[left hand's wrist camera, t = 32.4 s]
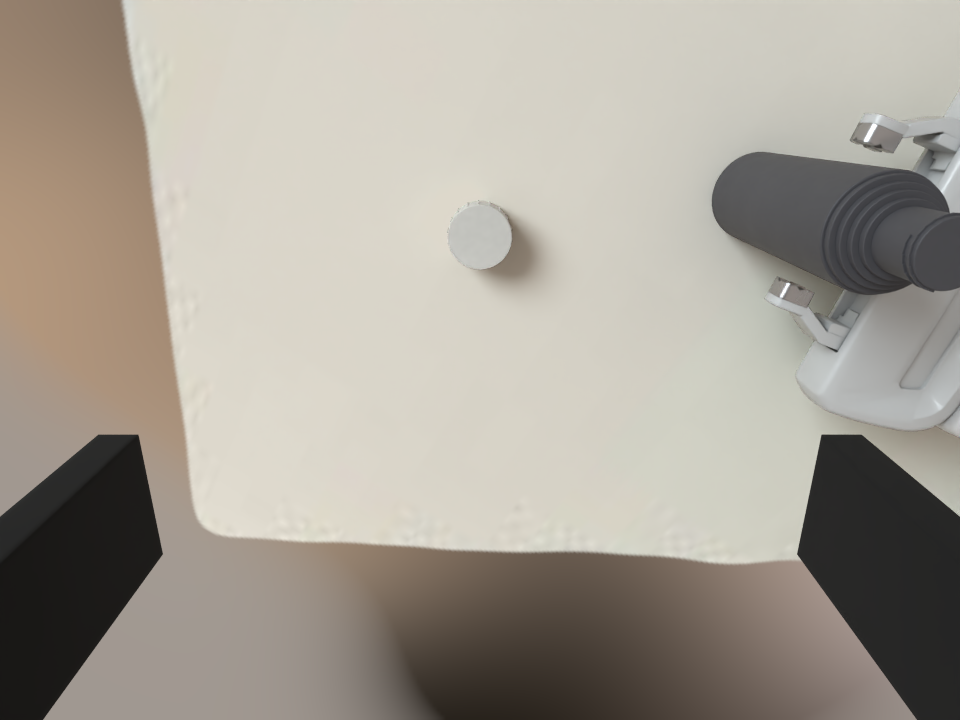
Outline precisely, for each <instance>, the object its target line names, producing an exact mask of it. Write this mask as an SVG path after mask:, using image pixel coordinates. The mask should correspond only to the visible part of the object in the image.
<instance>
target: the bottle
mask: <svg viewBox="0 0 960 720" xmlns="http://www.w3.org/2000/svg"><path fill="white" fill-rule="evenodd" d="M712 208H713V213H714V216H715V219H716V221H717V222H718V224H719V225H720V227H721V228H722V229H723V230H724V231H726V232H727V233H728V234H730V235H732V236H734V237H736V238H738V239H740V240H742V241H744V242H746V243H748V244H751V245H753V246H755V247H757V248H759V249H761V250H763V251H765V252H767V253H770V254H772V255H774V256H776V257H778V258H780V259H782V260H784V261H786V262H788V263H791V264H793V265H795V266H797V267H799V268H801V269H803V270H805V271H807V272H809V273H812V274H814V275H816V276H818V277H820V278H822V279H824V280H826V281H828V282H831V283H833V284H835V285H837V286H839V287H841V288H843V289H845V290H848V291H850V292H853V293H857V294H862V295H878V294H885V293H890V292H894V291H898V290H900V289H903V288H905V287H907V286H909V285H911V284H914V285H915V286H917V287H919V288H922V289H924V290H927V291H930V292H933V293H934V291H950V290H954V289H957V288H960V213H955V212H952V213H950V211H949V207H948V204H947V201H946V199H945V197H944V195H943V194H942V193H941V191H940V190H939V189H938V188H937V187H936V185H934V184H933V183H932V182H931V181H930V180H929V179H927V178H926V177H924V176H923V175H921V174H918V173H916V172H912V171H909V170H901V169H893V168H886V167H878V166H870V165H862V164H854V163H846V162H838V161H830V160H823V159H815V158H807V157H799V156H791V155H783V154H775V153H767V152H755V153H750V154H747V155H744V156H742V157H740V158H738V159H736V160H735V161H734V162H732V163H731V164H730V165H729V166H728V167H727V168H726V169H725V170H724V171H723V172H722V174H721V175H720V177H719V178H718V180H717V182H716V185H715V187H714V191H713V195H712Z"/></svg>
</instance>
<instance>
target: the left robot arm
mask: <svg viewBox="0 0 960 720" xmlns="http://www.w3.org/2000/svg"><path fill="white" fill-rule="evenodd" d="M162 555H163V553H162V548H161V543H160V538H159V533H158V528H157V524H156V519H155V514H154V509H153V504H152V499H151V494H150V489H149V484H148V480H147V475H146V470H145V465H144V460H143V455H142V450H141V445H140V440H139V436H138V435H98V436H96V437H95V438H94V439H93V440H92V441H90V442H89V443H88V444H87V445H86V446H84V447H83V448H82V449H81V450H80V451H78V452H77V453H76V454H75V455H74V456H72V457H71V458H70V459H69V460H68V461H66V462H65V463H64V464H63V465H62V466H60V467H59V468H58V469H57V470H56V471H54V472H53V473H52V474H51V475H50V476H48V477H47V478H46V479H45V480H44V481H42V482H41V483H40V484H39V485H38V486H36V487H35V488H34V489H33V490H32V491H30V492H29V493H28V494H27V495H26V496H25V497H23V498H22V499H21V500H20V501H18V502H17V503H16V504H15V505H14V506H12V507H11V508H10V509H9V510H8V511H6V512H5V513H4V514H3V515H2V516H1V517H0V720H43V719H44V718H45V716H46V715H47V713H48V712H49V711H50V709H51V708H52V706H53V705H54V704H55V702H56V701H57V700H58V698H59V697H60V695H61V694H62V693H63V691H64V690H65V689H66V687H67V686H68V684H69V683H70V682H71V680H72V679H73V677H74V676H75V675H76V673H77V672H78V671H79V669H80V668H81V666H82V665H83V664H84V662H85V661H86V660H87V658H88V657H89V655H90V654H91V653H92V651H93V650H94V649H95V647H96V646H97V644H98V643H99V642H100V640H101V639H102V637H103V636H104V635H105V633H106V632H107V631H108V629H109V628H110V626H111V625H112V624H113V622H114V621H115V620H116V618H117V617H118V615H119V614H120V613H121V611H122V610H123V608H124V607H125V606H126V604H127V603H128V602H129V600H130V599H131V597H132V596H133V595H134V593H135V592H136V591H137V589H138V588H139V586H140V585H141V584H142V582H143V581H144V579H145V578H146V577H147V575H148V574H149V572H150V571H151V570H152V568H153V567H154V566H155V564H156V563H157V561H158V560H159V559H160V557H161V556H162ZM797 555H798V556H799V557H800V559H801V560H802V562H803V563H804V564H805V566H806V567H807V568H808V570H809V571H810V573H811V574H812V575H813V577H814V578H815V579H816V581H817V582H818V584H819V585H820V586H821V588H822V589H823V590H824V592H825V593H826V595H827V596H828V597H829V599H830V600H831V602H832V603H833V604H834V606H835V607H836V608H837V610H838V611H839V613H840V614H841V615H842V617H843V618H844V620H845V621H846V622H847V624H848V625H849V626H850V628H851V629H852V631H853V632H854V633H855V635H856V636H857V637H858V639H859V640H860V642H861V643H862V644H863V646H864V647H865V649H866V650H867V651H868V653H869V654H870V655H871V657H872V658H873V660H874V661H875V662H876V664H877V665H878V666H879V668H880V669H881V671H882V672H883V673H884V675H885V676H886V678H887V679H888V680H889V682H890V683H891V684H892V686H893V687H894V689H895V690H896V691H897V693H898V694H899V695H900V697H901V698H902V700H903V701H904V702H905V704H906V705H907V706H908V708H909V709H910V711H911V712H912V713H913V715H914V716H915V718H916V719H917V720H960V517H959V516H958V515H957V514H956V513H955V512H954V511H952V510H951V509H950V508H949V507H948V506H946V505H945V504H944V503H943V502H942V501H940V500H939V499H938V498H937V497H936V496H934V495H933V494H932V493H931V492H930V491H928V490H927V489H926V488H925V487H924V486H922V485H921V484H920V483H919V482H918V481H916V480H915V479H914V478H913V477H912V476H910V475H909V474H908V473H907V472H906V471H904V470H903V469H902V468H901V467H900V466H898V465H897V464H896V463H895V462H894V461H892V460H891V459H890V458H889V457H888V456H886V455H885V454H884V453H883V452H882V451H880V450H879V449H878V448H877V447H876V446H874V445H873V444H872V443H871V442H870V441H868V440H867V439H866V438H865V437H864V436H862V435H822V436H821V440H820V445H819V450H818V455H817V460H816V465H815V470H814V475H813V480H812V484H811V489H810V494H809V499H808V504H807V509H806V514H805V519H804V523H803V528H802V533H801V538H800V543H799V548H798V553H797Z"/></svg>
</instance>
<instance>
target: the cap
mask: <svg viewBox="0 0 960 720" xmlns="http://www.w3.org/2000/svg"><path fill="white" fill-rule="evenodd" d="M450 222H451V223H450V226H449V228H448V231H447V233H448V244H449V248H450V250H451V252H452V254H453V256H454V257H455V258H456V259H457V260H458V261H459V262H460V263H461V264H463V265H464V266H466V267H469V268H472V269H479V270H480V269H488V268H491V267H493V266H495V265H497V264H499V263H500V262H501V261H502V260H503V259H504V258H505V257H506V255H507V254H508V252H509V250H510V247H511V243H512V232H511V230H512V227H511V225H510V224H509V221H508V217H507V215H505V213H504V212H503V211H502V210H501V209H500V207H497V206H496V205H494V204H492V203H490V202H485V201H479V200H478V201H475V202H471V203H467V204H466V205H464V206H462V207H461V208H460V209H459V208H458V211H457V212H456V213H455V215H454V216H453V217H452V218H451V221H450Z"/></svg>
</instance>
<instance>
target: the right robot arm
mask: <svg viewBox="0 0 960 720" xmlns="http://www.w3.org/2000/svg"><path fill="white" fill-rule="evenodd" d="M909 137H914V139H913V143H916V144H918V145H920V146H922V147H925V150H924V151H923V153H922V155H921V157H920V158H919V160H918V162H917V164H916V165H915V167H914V169H913V170H912V172H916V173H918V174H921V175H923V176H924V177H926V178H927V179H929V180H930V181H931V182H932V183H933V184H934V185H936V187H937V188H938V189H939V190H940V191H941V193H942V194H943V195H944V197H945V199H946V201H947V204H948V207H949V211H950V213H952V212H955V213H960V89H959V91H958V92H957V94H956V96H955V98H954V99H953V101H952V103H951V105H950V106H949V108H948V110H947V112H946V113H945V115H944V117H921V118H915V119H910V120H905V121H896V120H894V119H892V118H889V117H887V116H884V115H880V114H876V113H864V114H863V116H862V118H861V120H860V122H859V124H858V125H857V127H856V129H855V131H854V133H853V135H852V137H851V139H850V141H851V142H853V143H855V144H860V145H863V146H864V147H865V148H867V149H870V150H872V151H876V152H882V151H883V152H886V153H894V151H895V149H896V148H897V146H898V144H899V143H900V141H901V139H902V138H909ZM813 295H814V292H812V291H810V290H808V289H806V288H805V287H803V286H801V285H798V284H796V283H793V282H789V281H787V280H785V279H783V278H780V277H776V279H775V280H774V282H773V284H772V286H771V288H770V289H769V292H768V293H767V295H766V297H765V300H767V301H768V302H770V303H771V304H773V305H775V306H777V307H779V308H782V309H784V310H787V311H789V312H790V314H791V315H792V317H793V318H794V320H795V321H796V323H797V324H798V326H799V327H800V329H801V330H802V332H803V333H805V334H806V335H808V336H809V337H811V338H812V339H814V342H813V343H812V345H811V347H810V349H809V350H808V352H807V354H806V356H805V357H804V359H803V361H802V362H801V364H800V366H799V367H798V369H797V371H796V374H795V377H796V380H797V382H798V385H799V387H800V389H801V390H802V392H803V393H804V394H805V395H806V396H807V397H808V398H809V399H810V400H811V401H813V402H814V403H815V404H816V405H818V406H819V407H821V408H822V409H824V410H826V411H828V412H830V413H833V414H836V415H839V416H842V417H845V418H848V419H852V420H855V421H859V422H863V423H866V424H871V425H875V426H879V427H884V428H889V429H894V430H900V431H922V430H926V429H930V428H932V427H935V426H936V427H938V428H940V429H942V430H944V431H946V432H948V433H950V434H952V435H954V436H956V437H959V438H960V288H957V289H954V290H950V291H934V293H933V292H930V291H927V290H924V289H922V288H919V287H917V286H915V285H914V284H911V285H909V286H907V287H905V288H903V289H900V290H898V291H894V292H890V293H885V294H878V295H862V294H857V293H853V292H850V291H848V290H845V289H844V290H843V292H842V293H841V295H840V297H839V298H838V300H837V302H836V304H835V305H834V307H833V309H832V311H831V312H830V314H829V316H828V317H827V316H824V315H821V314H819V313H815V314H814V313H813V312H812V311H811V309H810V308H809V307H808V304H809V303H810V301H811V299H812V297H813Z"/></svg>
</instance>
